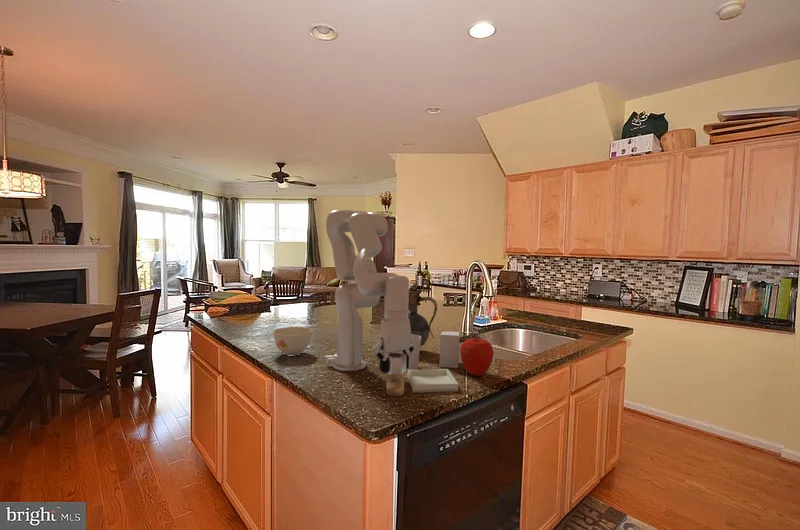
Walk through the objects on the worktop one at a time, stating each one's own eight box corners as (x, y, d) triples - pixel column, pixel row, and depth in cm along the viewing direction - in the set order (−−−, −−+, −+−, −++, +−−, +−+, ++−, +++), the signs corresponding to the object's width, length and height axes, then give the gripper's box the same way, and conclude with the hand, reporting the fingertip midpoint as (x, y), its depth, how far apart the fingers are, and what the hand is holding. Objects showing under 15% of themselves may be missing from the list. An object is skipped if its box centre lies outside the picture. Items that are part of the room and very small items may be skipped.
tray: (413, 392, 121) (413, 384, 121) (407, 376, 135) (407, 369, 135) (458, 391, 122) (458, 383, 122) (447, 375, 137) (447, 369, 137)
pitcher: (397, 346, 175) (398, 281, 174) (438, 350, 170) (440, 283, 168) (390, 352, 165) (391, 283, 164) (433, 357, 160) (435, 286, 158)
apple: (454, 370, 143) (455, 333, 143) (483, 368, 146) (484, 332, 145) (467, 381, 131) (468, 341, 131) (499, 379, 134) (500, 340, 133)
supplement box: (458, 368, 145) (459, 335, 145) (438, 366, 147) (439, 334, 146) (459, 362, 153) (460, 331, 152) (440, 361, 154) (441, 330, 154)
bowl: (266, 353, 161) (266, 330, 160) (301, 347, 171) (301, 325, 171) (283, 362, 149) (283, 337, 148) (319, 355, 159) (319, 331, 159)
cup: (405, 372, 140) (406, 340, 139) (396, 366, 147) (396, 335, 146) (424, 369, 143) (425, 338, 143) (414, 363, 151) (414, 333, 150)
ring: (409, 369, 122) (410, 354, 121) (397, 375, 116) (397, 359, 115) (387, 364, 126) (388, 349, 126) (374, 369, 120) (375, 354, 120)
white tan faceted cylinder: (386, 396, 117) (387, 367, 117) (385, 389, 123) (386, 361, 122) (404, 395, 118) (405, 367, 118) (402, 388, 124) (403, 361, 123)
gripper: (410, 310, 128) (409, 362, 129) (366, 315, 117) (364, 371, 118) (425, 314, 121) (423, 368, 123) (379, 320, 111) (377, 378, 112)
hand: (394, 369), depth 121 cm, fingers closed on ring, 7 cm apart
